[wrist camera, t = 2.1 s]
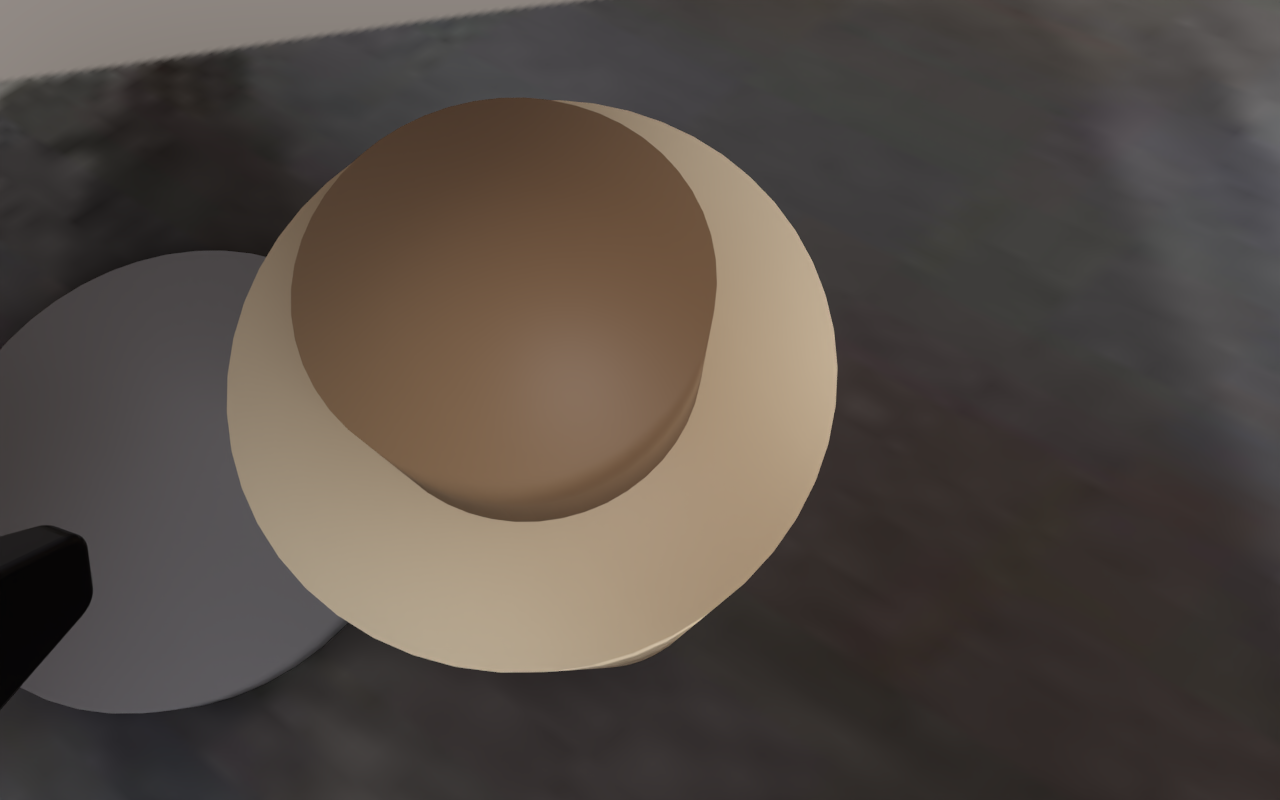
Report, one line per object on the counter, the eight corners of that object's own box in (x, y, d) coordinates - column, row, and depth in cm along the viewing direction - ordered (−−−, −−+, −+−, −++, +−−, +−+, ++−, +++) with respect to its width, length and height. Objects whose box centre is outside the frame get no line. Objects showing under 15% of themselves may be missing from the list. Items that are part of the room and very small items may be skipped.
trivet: (159, 823, 17) (130, 833, 16) (-128, 494, 20) (-167, 485, 19) (513, 446, 20) (506, 435, 19) (222, 194, 22) (203, 173, 21)
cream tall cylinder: (616, 716, 18) (519, 883, 4) (456, 567, 19) (-40, 312, 5) (755, 544, 19) (1035, 236, 5) (597, 413, 20) (494, -124, 6)
